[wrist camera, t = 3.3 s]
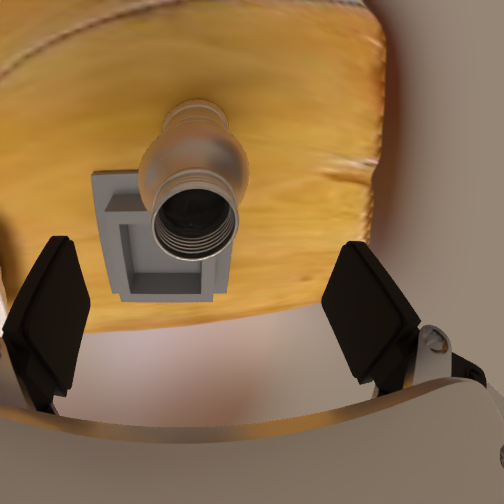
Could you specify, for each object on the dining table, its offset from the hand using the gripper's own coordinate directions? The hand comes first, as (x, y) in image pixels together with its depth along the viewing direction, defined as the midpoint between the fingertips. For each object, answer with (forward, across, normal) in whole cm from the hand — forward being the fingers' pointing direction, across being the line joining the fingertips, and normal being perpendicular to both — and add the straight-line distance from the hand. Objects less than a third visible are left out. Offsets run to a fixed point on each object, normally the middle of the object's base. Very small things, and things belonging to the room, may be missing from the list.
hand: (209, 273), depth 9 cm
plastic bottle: (+23, +1, 0) cm, 23 cm away
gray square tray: (+23, +4, +14) cm, 27 cm away
